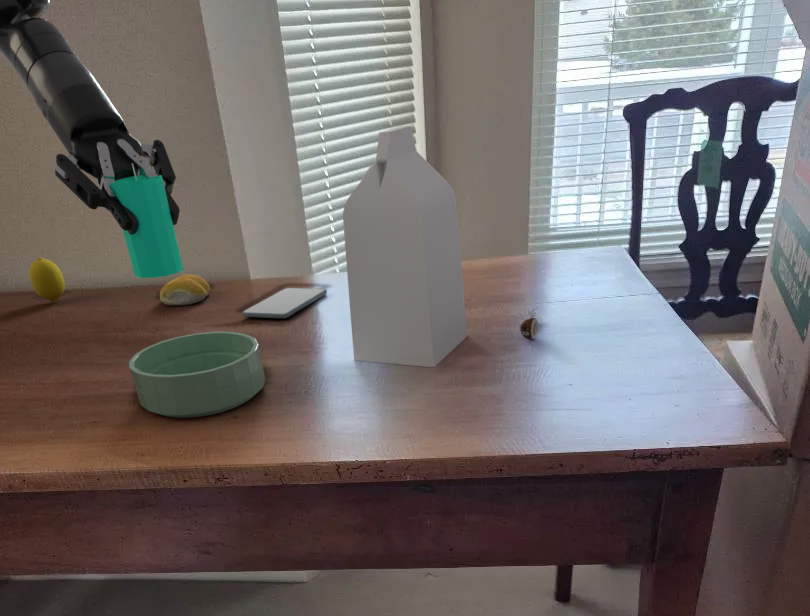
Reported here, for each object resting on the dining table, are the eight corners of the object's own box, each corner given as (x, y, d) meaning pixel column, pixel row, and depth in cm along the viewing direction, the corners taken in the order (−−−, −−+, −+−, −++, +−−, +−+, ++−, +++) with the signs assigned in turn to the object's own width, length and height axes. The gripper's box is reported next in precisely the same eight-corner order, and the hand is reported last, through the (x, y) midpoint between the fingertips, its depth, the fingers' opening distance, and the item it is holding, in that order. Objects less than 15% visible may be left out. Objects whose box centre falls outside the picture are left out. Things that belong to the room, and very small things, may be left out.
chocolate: (526, 334, 100) (527, 304, 98) (541, 336, 99) (542, 306, 96) (516, 341, 98) (516, 311, 96) (531, 343, 97) (531, 313, 94)
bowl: (201, 431, 82) (189, 384, 79) (116, 408, 89) (102, 365, 86) (291, 382, 92) (283, 340, 89) (207, 366, 99) (198, 326, 96)
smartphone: (328, 288, 124) (285, 314, 113) (329, 294, 125) (286, 320, 113) (285, 287, 127) (239, 312, 115) (286, 293, 127) (240, 318, 116)
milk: (434, 367, 92) (419, 133, 78) (354, 360, 97) (326, 137, 82) (467, 336, 101) (460, 120, 86) (393, 330, 105) (374, 125, 91)
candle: (159, 279, 87) (131, 167, 80) (124, 276, 89) (93, 167, 83) (194, 266, 91) (170, 159, 84) (159, 264, 94) (133, 159, 87)
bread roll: (215, 290, 133) (210, 267, 130) (202, 305, 125) (197, 281, 123) (170, 294, 133) (165, 271, 131) (155, 308, 126) (149, 284, 123)
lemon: (45, 308, 132) (29, 262, 127) (34, 303, 135) (18, 258, 131) (75, 300, 135) (60, 255, 130) (64, 296, 138) (49, 252, 134)
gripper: (17, 86, 79) (103, 213, 79) (136, 76, 88) (214, 191, 87) (16, 141, 86) (95, 259, 85) (127, 126, 94) (200, 234, 93)
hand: (155, 224), depth 86 cm, fingers closed on candle, 4 cm apart
